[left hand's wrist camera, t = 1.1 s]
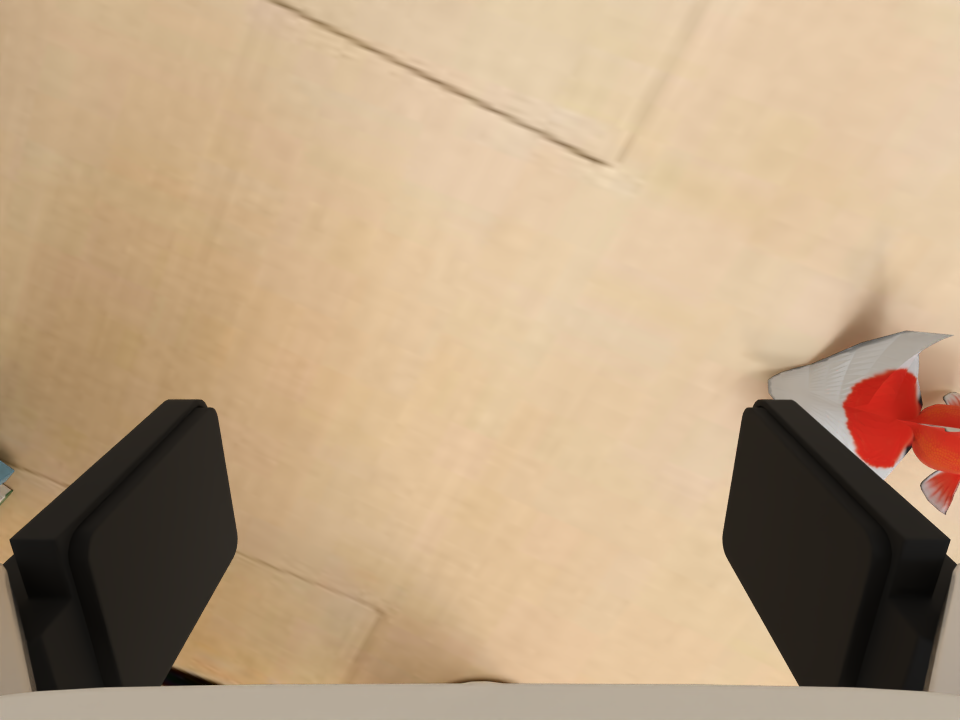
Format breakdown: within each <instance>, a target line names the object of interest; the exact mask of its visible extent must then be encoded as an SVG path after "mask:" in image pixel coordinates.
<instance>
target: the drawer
mask: <svg viewBox="0 0 960 720" xmlns="http://www.w3.org/2000/svg"><path fill="white" fill-rule="evenodd" d="M13 472H14V470H13V469H12V468H10V467H9V466H8V465H6V464H5V463H3V462H2V461H0V485H1V484H3V483H4V482H5V481H6V480H7V479H8V478H9V477H10V476H11V475H12V473H13Z"/></svg>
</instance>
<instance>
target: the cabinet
mask: <svg viewBox="0 0 960 720" xmlns="http://www.w3.org/2000/svg"><path fill="white" fill-rule="evenodd" d="M12 491H13V490H11V489H9V488H8V487H6V486H5V485H3V484H1V485H0V505H1V504H2V503H3V502H4V501H5V499H6V498H7V497H8V496H9V495H10V494H11V493H12Z"/></svg>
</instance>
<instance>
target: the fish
mask: <svg viewBox="0 0 960 720" xmlns="http://www.w3.org/2000/svg"><path fill="white" fill-rule="evenodd" d="M950 336H953V335H946V334H936V333H925V332H915V331H903V332H900V333H896V334H892V335H888V336H885V337H881V338H877V339H873V340H870V341H866V342H862V343H859V344H857V345H855V346H852V347H850V348H848V349H845V350H843V351H841V352H839V353H836V354H834V355H832V356H829V357H827V358H825V359H822V360H820V361H818V362H815V363H813V364H811V365H807V366H802V367H798V368H794V369H791V370H788V371H785V372H782V373H779V374H777V375H775V376H773V377H772V378H770V379H769V380H768V392H769V394H770V395H771V396H772V397H773V399H774V400H794V401H795V402H797V403H798V404H799V405H800V406H801V407H802V408H803V409H804V410H806V411H807V412H808V413H809V414H810V415H811V416H812V417H813V418H815V419H816V420H817V421H818V422H819V423H820V424H821V425H822V426H824V427H825V428H826V429H827V430H828V431H829V432H830V433H831V434H833V435H834V436H835V437H836V438H837V439H838V440H839V441H840V442H841V443H843V444H844V445H845V446H846V447H847V448H848V449H849V450H850V451H852V452H853V453H854V454H855V455H856V456H857V457H858V458H859V459H861V460H862V461H863V462H864V463H865V464H866V465H867V466H868V467H870V468H871V469H872V470H873V471H874V472H875V473H876V474H877V475H879V476H880V477H881V478H882V479H883V480H884V479H885V478H886V477H887V476H888V475H889V474H890V473H891V472H892V471H893V469H894V468H895V467H896V466H897V465H898V464H899V462H900V461H901V460H902V459H903V458H904V456H905V455H906V454H907V453H908V451H909V450H910V449H911V448H913V451H914V453H915V455H916V456H917V457H918V459H919V460H920V461H921V462H922V463H924V464H925V465H926V466H928V467H930V468H932V469H936V470H937V471H935V472H934V473H932V474H931V475H929V476H928V477H927V478H926V479H924V480H923V481H922V483H921V485H920V487H921V490H922V491H923V493H924V495H925V497H926V498H927V500H928V501H929V502H930V503H931V504H932V505H933V506H934V507H936V508H937V509H938V510H939V511H940V512H942V513H943V514H945V515H946V512H947V510H948V508H949V506H950V504H951V502H952V500H953V497H954V494H955V492H956V490H957V488H958V485H959V483H960V394H958V393H956V392H953V393H948V394H947V395H945V396H944V397H943V400H944V401H945V403H946V405H944V404H936V405H933V406H930V407H927V408H925V409H924V410H922V411H921V408H922V406H923V404H922V398H921V392H920V387H919V382H918V371H919V353H920V352H921V351H922V350H923V349H925V348H927V347H929V346H931V345H932V344H934V343H936V342H938V341H940V340H942V339H945V338H948V337H950ZM920 411H921V412H920Z"/></svg>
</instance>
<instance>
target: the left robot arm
mask: <svg viewBox="0 0 960 720" xmlns="http://www.w3.org/2000/svg"><path fill="white" fill-rule="evenodd" d="M237 539H238V538H237V529H236V523H235V517H234V511H233V505H232V499H231V493H230V487H229V481H228V475H227V469H226V463H225V457H224V451H223V445H222V439H221V433H220V427H219V421H218V416H217V413H216V411H215V409H214V408H207V406H206V404H205V402H204V401H203V400H166V401H165V402H163V403H162V404H161V405H160V406H159V407H158V408H157V409H156V410H154V411H153V412H152V413H151V414H150V415H149V416H148V417H147V418H145V419H144V420H143V421H142V422H141V423H140V424H139V425H138V426H136V427H135V428H134V429H133V430H132V431H131V432H130V433H129V434H127V435H126V436H125V437H124V438H123V439H122V440H121V441H120V442H119V443H117V444H116V445H115V446H114V447H113V448H112V449H111V450H110V451H108V452H107V453H106V454H105V455H104V456H103V457H102V458H101V459H99V460H98V461H97V462H96V463H95V464H94V465H93V466H92V467H90V468H89V469H88V470H87V471H86V472H85V473H84V474H83V475H81V476H80V477H79V478H78V479H77V480H76V481H75V482H74V483H72V484H71V485H70V486H69V487H68V488H67V489H66V490H65V491H63V492H62V493H61V494H60V495H59V496H58V497H57V498H56V499H55V500H53V501H52V502H51V503H50V504H49V505H48V506H47V507H46V508H44V509H43V510H42V511H41V512H40V513H39V514H38V515H37V516H35V517H34V518H33V519H32V520H31V521H30V522H29V523H28V524H26V525H25V526H24V527H23V528H22V529H21V530H20V531H19V532H17V533H16V534H15V535H14V536H13V537H12V538H11V539H10V543H11V546H12V549H13V553H14V555H13V556H11V557H10V558H9V559H8V560H7V561H6V562H5V563H4V564H3V565H2V564H1V563H0V720H960V563H959V564H958V565H957V564H956V563H955V562H954V561H953V560H952V559H951V558H950V557H949V556H947V555H946V553H947V549H948V546H949V543H950V539H949V538H948V537H947V536H946V535H945V534H944V533H943V532H941V531H940V530H939V529H938V528H937V527H936V526H935V525H934V524H932V523H931V522H930V521H929V520H928V519H927V518H926V517H925V516H923V515H922V514H921V513H920V512H919V511H918V510H917V509H916V508H914V507H913V506H912V505H911V504H910V503H909V502H908V501H907V500H905V499H904V498H903V497H902V496H901V495H900V494H899V493H898V492H897V491H895V490H894V489H893V488H892V487H891V486H890V485H889V484H888V483H886V482H885V481H884V480H883V479H882V478H881V477H880V476H879V475H877V474H876V473H875V472H874V471H873V470H872V469H871V468H870V467H868V466H867V465H866V464H865V463H864V462H863V461H862V460H861V459H859V458H858V457H857V456H856V455H855V454H854V453H853V452H852V451H850V450H849V449H848V448H847V447H846V446H845V445H844V444H843V443H841V442H840V441H839V440H838V439H837V438H836V437H835V436H834V435H833V434H831V433H830V432H829V431H828V430H827V429H826V428H825V427H824V426H822V425H821V424H820V423H819V422H818V421H817V420H816V419H815V418H813V417H812V416H811V415H810V414H809V413H808V412H807V411H806V410H804V409H803V408H802V407H801V406H800V405H799V404H798V403H797V402H795V401H794V400H757V401H756V402H755V404H754V406H753V408H746V409H745V411H744V413H743V416H742V421H741V427H740V433H739V439H738V445H737V451H736V457H735V463H734V469H733V475H732V481H731V487H730V493H729V499H728V505H727V511H726V517H725V523H724V529H723V538H722V539H723V549H724V552H725V555H726V557H727V559H728V561H729V563H730V564H731V566H732V568H733V570H734V571H735V573H736V575H737V577H738V578H739V580H740V582H741V584H742V586H743V587H744V589H745V591H746V593H747V594H748V596H749V598H750V600H751V601H752V603H753V605H754V607H755V609H756V610H757V612H758V614H759V616H760V617H761V619H762V621H763V623H764V625H765V626H766V628H767V630H768V632H769V633H770V635H771V637H772V639H773V640H774V642H775V644H776V646H777V648H778V649H779V651H780V653H781V655H782V656H783V658H784V660H785V662H786V663H787V665H788V667H789V669H790V671H791V672H792V674H793V676H794V678H795V679H796V681H797V683H798V685H799V686H752V685H700V684H511V683H497V682H489V681H476V682H467V683H449V684H260V685H208V686H161V685H162V683H163V681H164V679H165V678H166V676H167V674H168V672H169V671H170V669H171V667H172V665H173V663H174V662H175V660H176V658H177V656H178V655H179V653H180V651H181V649H182V648H183V646H184V644H185V642H186V640H187V639H188V637H189V635H190V633H191V632H192V630H193V628H194V626H195V625H196V623H197V621H198V619H199V617H200V616H201V614H202V612H203V610H204V609H205V607H206V605H207V603H208V601H209V600H210V598H211V596H212V594H213V593H214V591H215V589H216V587H217V586H218V584H219V582H220V580H221V578H222V577H223V575H224V573H225V571H226V570H227V568H228V566H229V564H230V563H231V561H232V559H233V557H234V555H235V552H236V549H237Z"/></svg>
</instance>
